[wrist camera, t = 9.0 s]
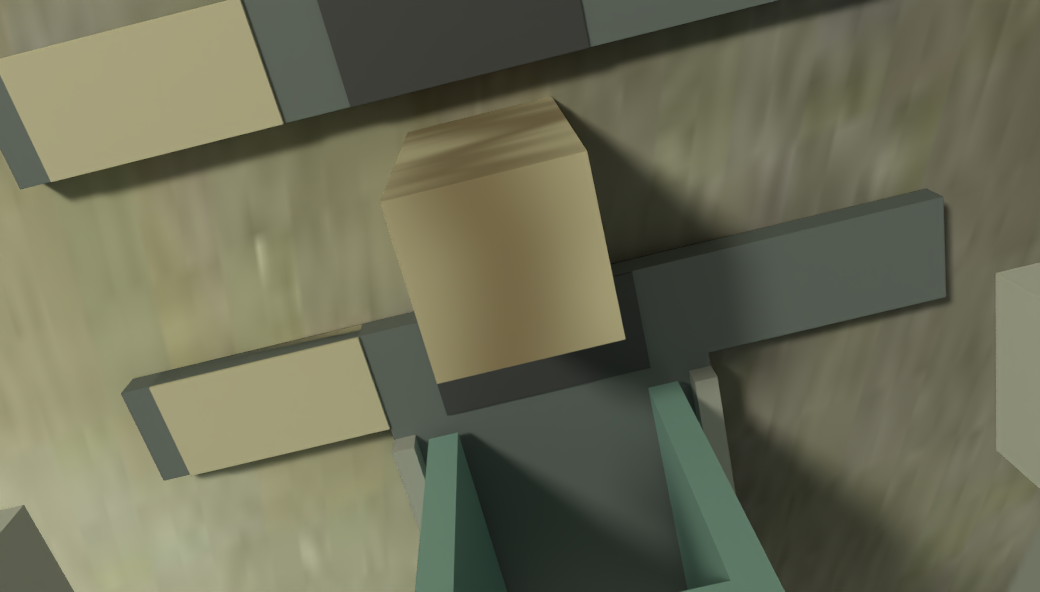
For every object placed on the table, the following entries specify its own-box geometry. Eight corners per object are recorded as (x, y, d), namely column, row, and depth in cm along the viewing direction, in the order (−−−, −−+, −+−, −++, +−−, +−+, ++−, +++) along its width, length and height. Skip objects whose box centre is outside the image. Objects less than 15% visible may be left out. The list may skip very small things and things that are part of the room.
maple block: (551, 96, 24) (586, 151, 17) (581, 234, 26) (625, 338, 18) (407, 132, 24) (379, 202, 17) (447, 266, 26) (437, 383, 18)
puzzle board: (913, -174, 22) (950, -187, 20) (939, 566, 32) (965, 599, 30) (-19, 64, 23) (-58, 71, 21) (293, 710, 33) (283, 750, 31)
